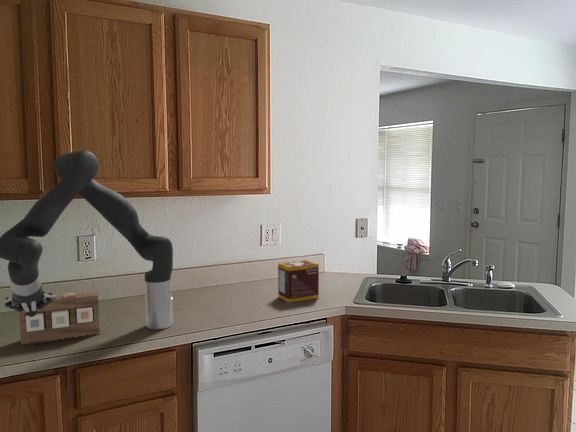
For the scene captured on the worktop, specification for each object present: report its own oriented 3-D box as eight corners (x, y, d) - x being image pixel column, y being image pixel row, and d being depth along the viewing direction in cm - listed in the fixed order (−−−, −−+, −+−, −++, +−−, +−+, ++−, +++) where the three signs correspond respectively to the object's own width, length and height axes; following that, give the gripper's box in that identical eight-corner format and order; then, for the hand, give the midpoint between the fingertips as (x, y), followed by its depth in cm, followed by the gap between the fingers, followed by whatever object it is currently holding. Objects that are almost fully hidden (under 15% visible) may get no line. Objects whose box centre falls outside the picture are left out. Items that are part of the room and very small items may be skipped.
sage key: (53, 324, 158) (52, 310, 157) (69, 322, 160) (68, 308, 159) (52, 328, 153) (51, 314, 153) (69, 326, 155) (68, 312, 155)
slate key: (27, 327, 154) (26, 313, 154) (44, 325, 157) (43, 311, 156) (26, 332, 150) (25, 317, 150) (43, 329, 152) (43, 315, 152)
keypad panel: (22, 339, 157) (20, 297, 156) (99, 329, 167) (97, 289, 166) (21, 345, 152) (18, 301, 151) (99, 334, 162) (97, 293, 161)
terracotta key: (77, 319, 163) (76, 305, 162) (92, 317, 165) (91, 303, 164) (77, 323, 158) (76, 309, 158) (93, 321, 160) (92, 307, 160)
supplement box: (319, 298, 206) (319, 263, 204) (288, 302, 199) (288, 267, 198) (307, 292, 215) (307, 259, 214) (278, 297, 208) (277, 263, 207)
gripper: (52, 270, 136) (55, 301, 148) (-1, 275, 130) (7, 306, 143) (52, 292, 132) (56, 321, 144) (-2, 298, 126) (6, 328, 138)
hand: (31, 314), depth 143 cm, fingers closed
